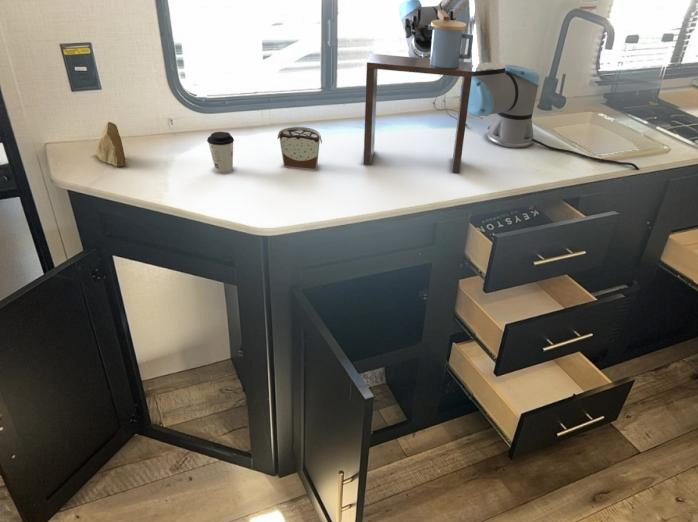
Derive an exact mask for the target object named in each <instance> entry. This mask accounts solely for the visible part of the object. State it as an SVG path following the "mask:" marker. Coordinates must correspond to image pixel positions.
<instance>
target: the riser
mask: <svg viewBox="0 0 698 522" xmlns="http://www.w3.org/2000/svg"><path fill="white" fill-rule="evenodd" d="M378 70H381V71H383V70H384V71H393V72H405V73H417V74H428V75H439V76H450V77H460V78H461V77H462V78H461V79H462V80H461V85H462V86H461V85H460V86H461V94H460V93H459V102H458V111H457V121H456V128H455V137H454V145H453V153H452V169H451V170H452V171H451V172H452V173H453V174H460V171H461V162H462V155H463V148H464V140H465V132H466V124H467V117H468V112H467V110H468V102H469V95H470V87H471V79H472V63H471V61H460V63H459V67H457V68H439V67H435V66H432V65H431V64H430V59H426V58H415V57H409V56H402V55H401V56H400V55H391V54H390V55H389V54H382V53H381V54H380V53H379V54H378V53H370V55H369V58H368V59H367V61H366V73H365V75H366V76H365V78H366V79H365V104H364V105H365V106H364V133H363V135H364V136H363V138H364V139H363V165H365V166H366V165H367V166H371V165H372V164H371V163H372V161H373V157H374V154H375V139H376V137H375V136H376V117H377V116H376V115H377V93H378V91H377V90H378Z"/></svg>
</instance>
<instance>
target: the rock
mask: <svg viewBox="0 0 698 522" xmlns="http://www.w3.org/2000/svg"><path fill="white" fill-rule="evenodd" d="M95 157H97V158H98V160H99V161H102V162H103V163H106V164H109V165H112V166H114V167H117V168H118V167H125V166H126V156H125V152H124V146H123V141H122V137H121V135H120V133H119V128H118V126H117V124H115V123H114V122H111V121H107V122H106V125H105V126H104V129H103V131H102V134H101V136H100V140H99V142H98V144H97V148H96V155H95Z"/></svg>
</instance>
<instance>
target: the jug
mask: <svg viewBox="0 0 698 522" xmlns="http://www.w3.org/2000/svg"><path fill="white" fill-rule="evenodd" d="M428 30H433V32H432V43H431V54H430V64H431V65H432V66H435V67H439V68H457V67H459V63H460V62H461V59H463V60H464V59H465V60H471V52H472V45H473V35H470V33H469V34H468V33H464V29H463V30H445V29H439V28H435V27H433V26H431V25H428ZM463 39H464V40H465V39H466V40H468V43H467V51H466V53H462V46H463Z"/></svg>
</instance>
